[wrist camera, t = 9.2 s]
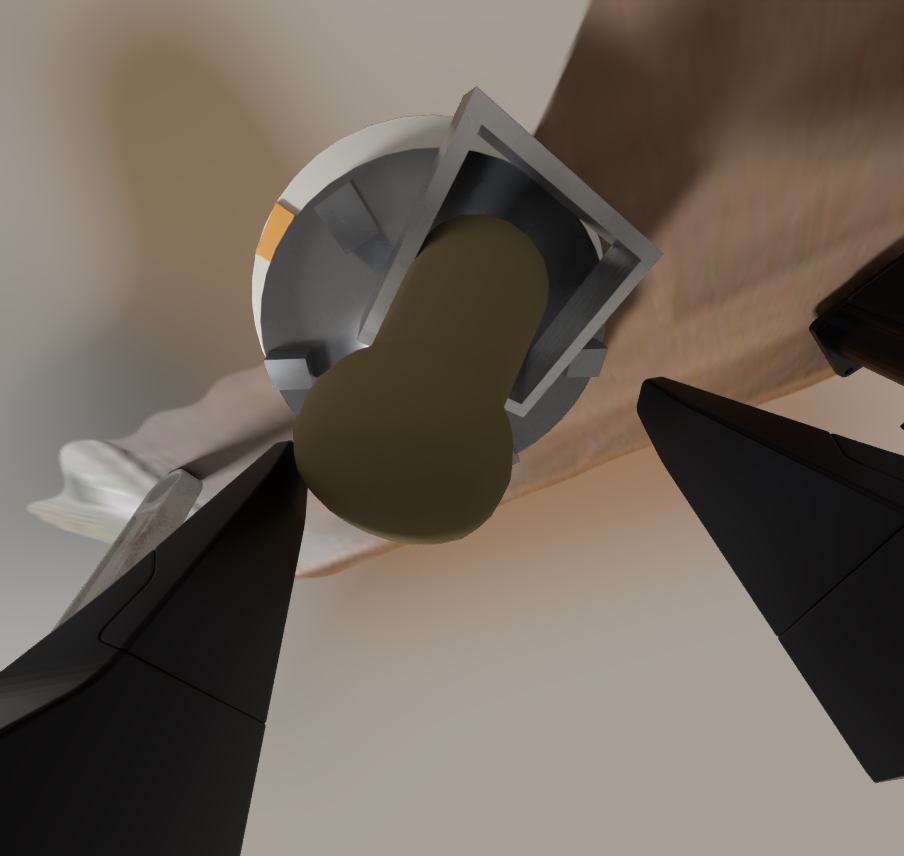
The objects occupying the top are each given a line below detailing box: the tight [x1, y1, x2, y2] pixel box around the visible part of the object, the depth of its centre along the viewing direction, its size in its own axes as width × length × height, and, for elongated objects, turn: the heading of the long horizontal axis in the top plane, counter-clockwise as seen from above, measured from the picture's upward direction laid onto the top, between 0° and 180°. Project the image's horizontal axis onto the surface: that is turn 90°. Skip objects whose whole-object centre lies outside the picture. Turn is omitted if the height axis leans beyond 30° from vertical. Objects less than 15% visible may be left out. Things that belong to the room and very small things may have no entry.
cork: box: [293, 214, 549, 544], centre depth 11 cm, size 6×6×11 cm
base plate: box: [252, 115, 603, 357], centre depth 20 cm, size 19×19×1 cm
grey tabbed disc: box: [260, 86, 663, 465], centre depth 18 cm, size 17×17×4 cm
